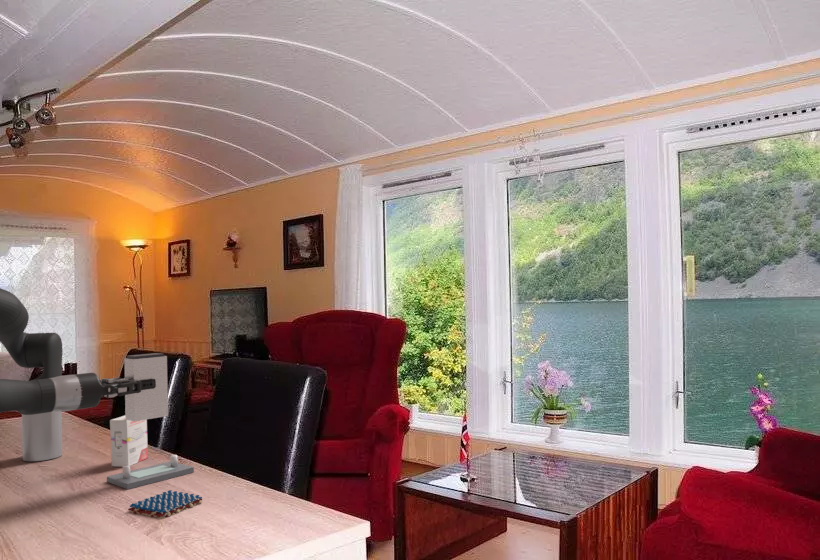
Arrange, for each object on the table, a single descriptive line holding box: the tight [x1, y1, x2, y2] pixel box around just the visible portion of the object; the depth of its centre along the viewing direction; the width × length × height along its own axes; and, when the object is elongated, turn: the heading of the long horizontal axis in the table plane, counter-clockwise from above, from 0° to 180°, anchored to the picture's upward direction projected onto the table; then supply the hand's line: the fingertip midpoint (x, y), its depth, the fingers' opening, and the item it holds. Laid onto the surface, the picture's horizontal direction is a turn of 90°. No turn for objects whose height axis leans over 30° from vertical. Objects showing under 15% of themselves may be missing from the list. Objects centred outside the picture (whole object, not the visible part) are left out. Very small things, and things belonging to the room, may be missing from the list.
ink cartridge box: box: [109, 414, 149, 468], centre depth 164 cm, size 9×5×15 cm, turn 168°
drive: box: [123, 352, 169, 422], centre depth 150 cm, size 4×8×15 cm, turn 139°
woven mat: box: [127, 489, 203, 519], centre depth 128 cm, size 10×11×2 cm
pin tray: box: [106, 454, 195, 490], centre depth 150 cm, size 16×10×4 cm, turn 140°
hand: (149, 382), depth 150 cm, fingers closed on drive, 4 cm apart
